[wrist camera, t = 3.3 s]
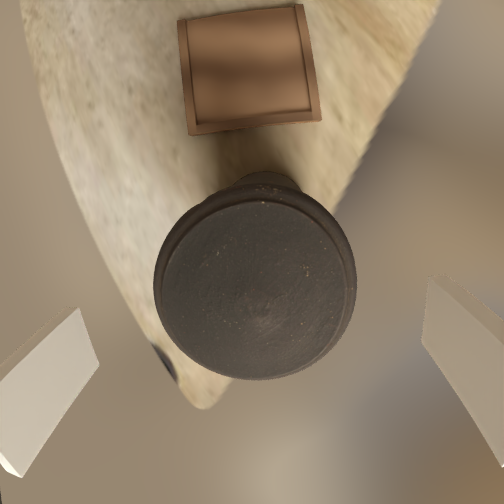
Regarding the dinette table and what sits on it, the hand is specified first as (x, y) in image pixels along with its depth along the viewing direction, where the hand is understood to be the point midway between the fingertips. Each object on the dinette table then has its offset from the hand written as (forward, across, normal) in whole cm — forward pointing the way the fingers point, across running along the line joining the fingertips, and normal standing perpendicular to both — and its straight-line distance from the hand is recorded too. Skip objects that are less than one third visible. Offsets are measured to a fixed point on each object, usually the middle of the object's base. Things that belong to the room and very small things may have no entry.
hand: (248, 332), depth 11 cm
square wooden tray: (+21, 0, +15) cm, 26 cm away
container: (+22, 0, 0) cm, 22 cm away
